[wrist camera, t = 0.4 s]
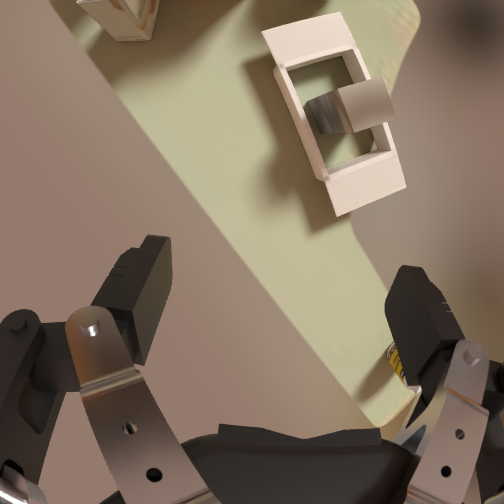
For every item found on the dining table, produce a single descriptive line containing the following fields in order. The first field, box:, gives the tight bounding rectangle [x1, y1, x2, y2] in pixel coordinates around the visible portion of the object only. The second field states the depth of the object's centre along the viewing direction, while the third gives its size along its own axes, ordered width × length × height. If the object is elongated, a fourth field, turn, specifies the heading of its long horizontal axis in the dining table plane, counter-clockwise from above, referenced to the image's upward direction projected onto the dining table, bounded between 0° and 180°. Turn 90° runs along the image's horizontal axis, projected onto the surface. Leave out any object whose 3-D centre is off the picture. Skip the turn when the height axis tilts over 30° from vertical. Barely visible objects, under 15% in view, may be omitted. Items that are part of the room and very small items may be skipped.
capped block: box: [307, 77, 397, 134], centre depth 29 cm, size 4×4×10 cm
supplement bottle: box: [387, 342, 421, 395], centre depth 41 cm, size 5×5×10 cm
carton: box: [261, 12, 406, 217], centre depth 32 cm, size 21×9×4 cm, turn 23°
